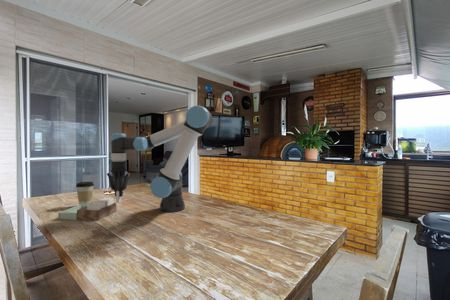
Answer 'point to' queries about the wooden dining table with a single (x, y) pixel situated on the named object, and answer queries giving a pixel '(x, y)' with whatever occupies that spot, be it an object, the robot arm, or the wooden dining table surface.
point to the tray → (70, 213)
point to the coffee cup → (84, 192)
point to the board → (95, 213)
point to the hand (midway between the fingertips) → (118, 202)
